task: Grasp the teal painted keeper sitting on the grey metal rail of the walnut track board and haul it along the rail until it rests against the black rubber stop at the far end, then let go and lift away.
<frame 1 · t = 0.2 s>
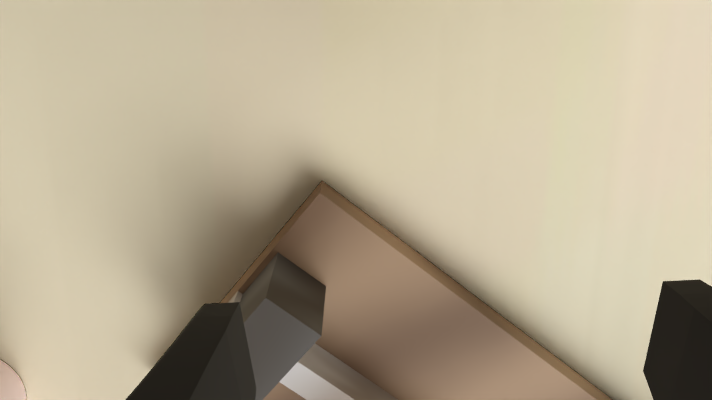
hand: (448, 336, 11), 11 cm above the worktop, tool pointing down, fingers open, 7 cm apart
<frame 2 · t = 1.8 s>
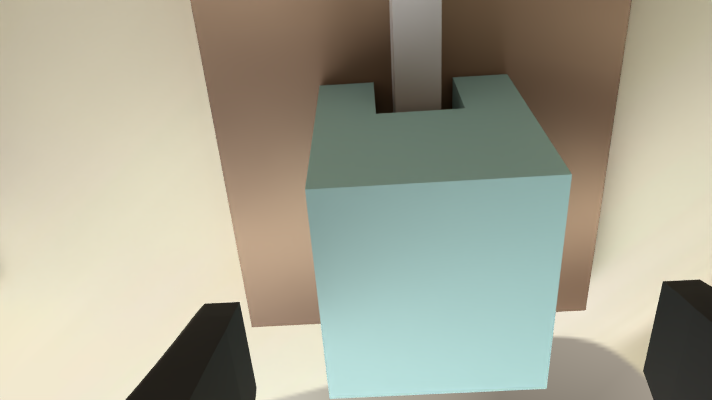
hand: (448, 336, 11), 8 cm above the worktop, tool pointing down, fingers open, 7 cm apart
keeper: (424, 225, 14), point 4 cm above the worktop, slide at 0.0 cm
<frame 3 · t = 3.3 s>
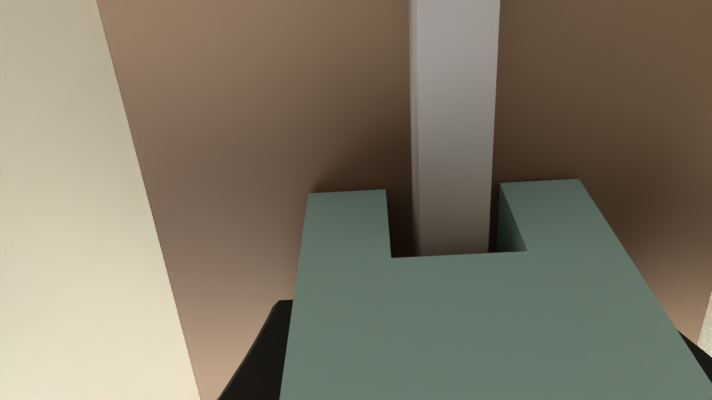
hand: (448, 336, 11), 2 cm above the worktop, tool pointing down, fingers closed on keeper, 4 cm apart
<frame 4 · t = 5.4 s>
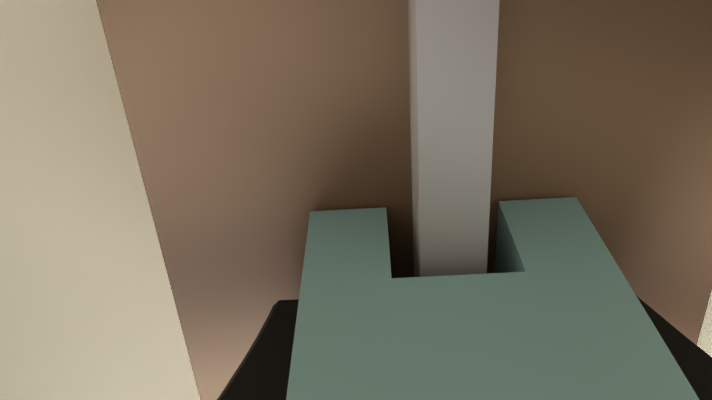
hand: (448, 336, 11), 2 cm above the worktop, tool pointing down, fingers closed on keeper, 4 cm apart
track: (434, 265, 13), on the worktop
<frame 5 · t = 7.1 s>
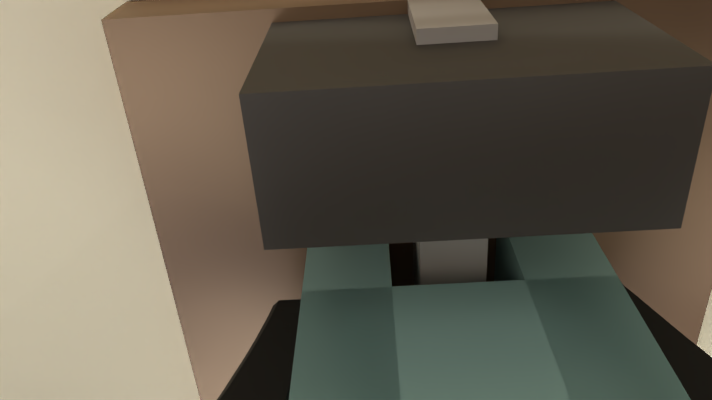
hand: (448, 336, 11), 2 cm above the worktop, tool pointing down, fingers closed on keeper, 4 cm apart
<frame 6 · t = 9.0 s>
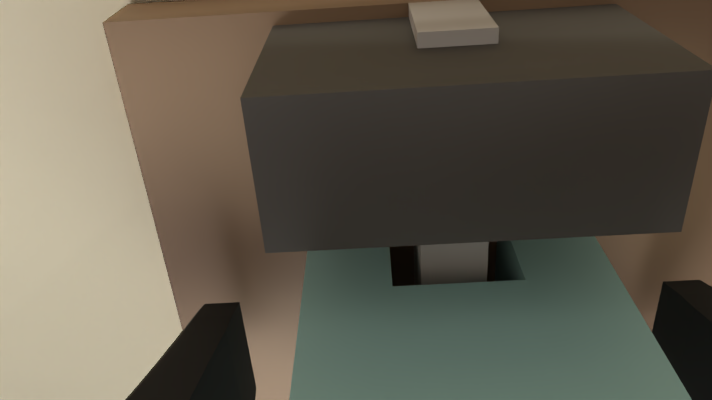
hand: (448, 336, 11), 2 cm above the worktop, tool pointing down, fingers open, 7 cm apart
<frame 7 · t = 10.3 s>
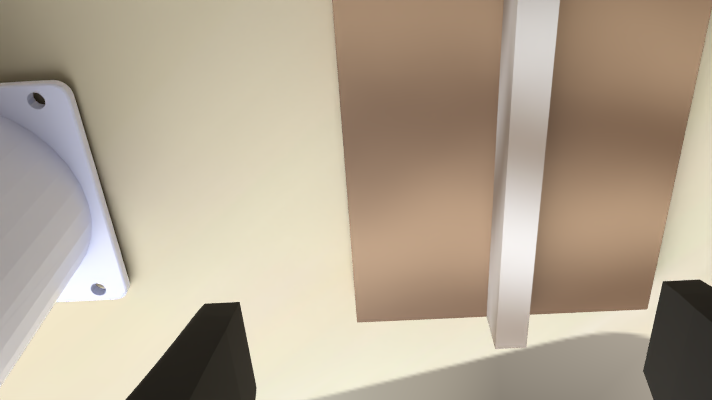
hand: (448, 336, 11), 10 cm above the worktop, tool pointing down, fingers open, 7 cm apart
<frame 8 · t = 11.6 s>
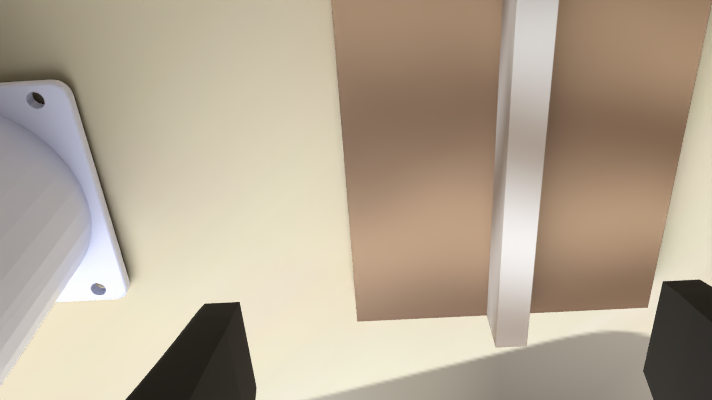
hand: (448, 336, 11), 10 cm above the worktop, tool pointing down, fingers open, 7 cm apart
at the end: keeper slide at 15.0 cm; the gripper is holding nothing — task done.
